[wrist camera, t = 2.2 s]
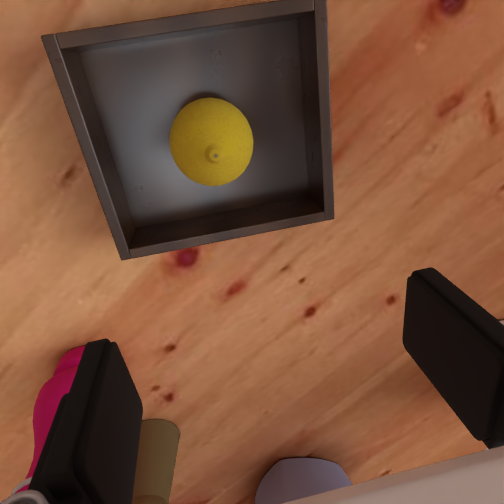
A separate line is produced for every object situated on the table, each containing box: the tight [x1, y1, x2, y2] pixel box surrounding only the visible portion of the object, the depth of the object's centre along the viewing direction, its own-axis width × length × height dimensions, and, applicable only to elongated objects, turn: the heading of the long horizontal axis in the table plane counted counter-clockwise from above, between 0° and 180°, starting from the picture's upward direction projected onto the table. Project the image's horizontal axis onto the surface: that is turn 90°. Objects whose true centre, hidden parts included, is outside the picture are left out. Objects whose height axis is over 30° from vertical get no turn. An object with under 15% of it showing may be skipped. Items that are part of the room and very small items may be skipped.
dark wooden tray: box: [41, 0, 334, 260], centre depth 26 cm, size 17×15×4 cm
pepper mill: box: [11, 346, 85, 495], centre depth 27 cm, size 7×7×20 cm
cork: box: [132, 419, 180, 504], centre depth 37 cm, size 6×6×11 cm
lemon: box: [169, 97, 253, 186], centre depth 24 cm, size 6×6×8 cm
